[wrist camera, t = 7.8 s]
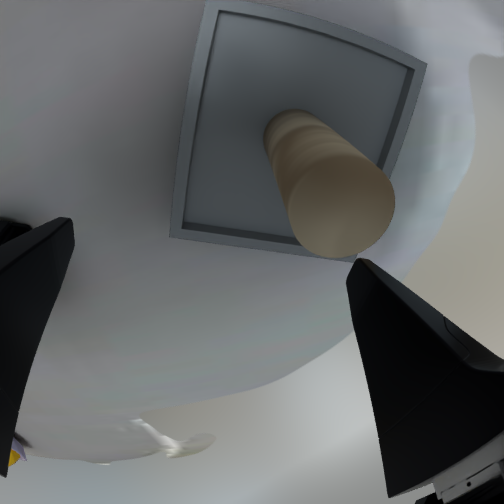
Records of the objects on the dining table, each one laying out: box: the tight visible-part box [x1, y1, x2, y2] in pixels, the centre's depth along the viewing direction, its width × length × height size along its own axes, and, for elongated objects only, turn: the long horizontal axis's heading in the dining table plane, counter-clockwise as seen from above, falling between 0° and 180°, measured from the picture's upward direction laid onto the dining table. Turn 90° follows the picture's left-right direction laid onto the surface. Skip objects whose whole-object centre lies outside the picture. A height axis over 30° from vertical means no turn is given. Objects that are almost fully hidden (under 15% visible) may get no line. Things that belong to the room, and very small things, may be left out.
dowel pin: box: [263, 109, 395, 258], centre depth 15 cm, size 4×4×10 cm
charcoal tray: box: [169, 0, 427, 263], centre depth 19 cm, size 16×14×2 cm
